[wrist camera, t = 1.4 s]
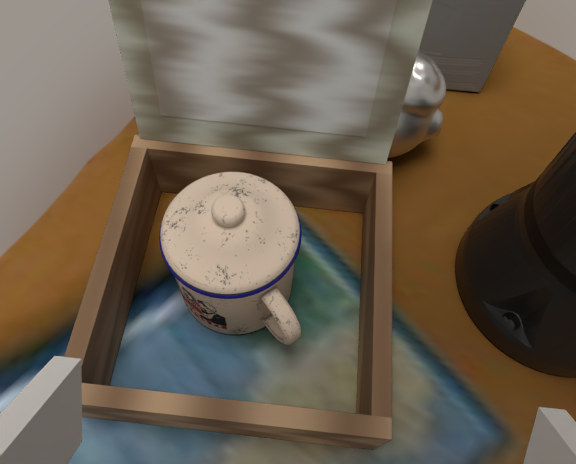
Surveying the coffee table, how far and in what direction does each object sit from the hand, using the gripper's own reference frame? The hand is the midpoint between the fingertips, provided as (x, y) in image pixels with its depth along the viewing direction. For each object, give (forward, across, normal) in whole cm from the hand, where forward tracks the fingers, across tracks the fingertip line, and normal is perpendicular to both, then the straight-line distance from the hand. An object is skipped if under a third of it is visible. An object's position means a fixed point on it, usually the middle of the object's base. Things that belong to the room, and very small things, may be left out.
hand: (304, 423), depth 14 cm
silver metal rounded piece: (+36, +6, +5) cm, 37 cm away
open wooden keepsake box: (+27, -4, -5) cm, 27 cm away
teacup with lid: (+24, -4, -7) cm, 25 cm away
